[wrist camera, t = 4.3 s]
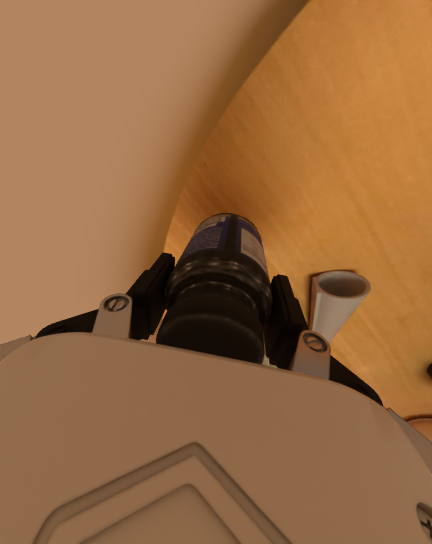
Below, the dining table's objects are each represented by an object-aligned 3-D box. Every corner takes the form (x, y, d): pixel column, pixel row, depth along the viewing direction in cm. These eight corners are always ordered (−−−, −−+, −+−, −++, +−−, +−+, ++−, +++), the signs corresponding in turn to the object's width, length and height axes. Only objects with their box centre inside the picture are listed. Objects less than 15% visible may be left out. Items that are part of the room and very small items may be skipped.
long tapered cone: (350, 377, 33) (379, 298, 22) (309, 373, 35) (318, 299, 24) (341, 347, 38) (361, 269, 27) (305, 345, 40) (310, 271, 29)
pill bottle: (192, 267, 19) (143, 378, 10) (195, 205, 16) (126, 285, 7) (254, 277, 19) (262, 401, 10) (270, 216, 16) (307, 315, 6)
